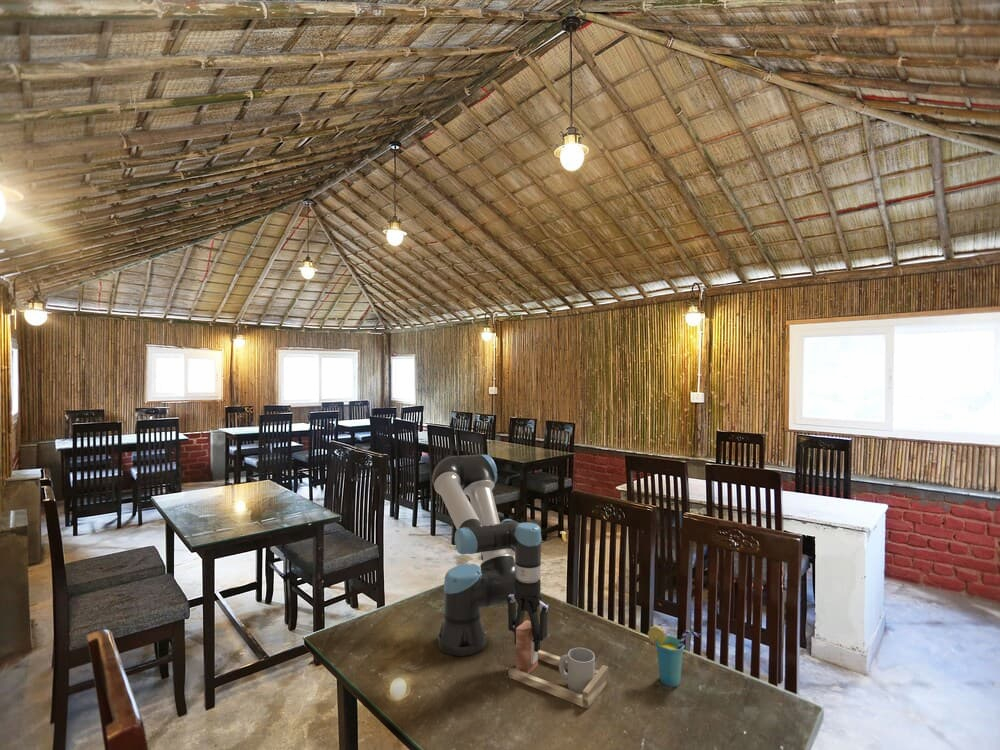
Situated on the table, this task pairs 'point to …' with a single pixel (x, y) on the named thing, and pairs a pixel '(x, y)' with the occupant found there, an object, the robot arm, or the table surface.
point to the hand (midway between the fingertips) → (527, 658)
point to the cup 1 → (578, 668)
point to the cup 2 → (669, 655)
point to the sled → (525, 666)
